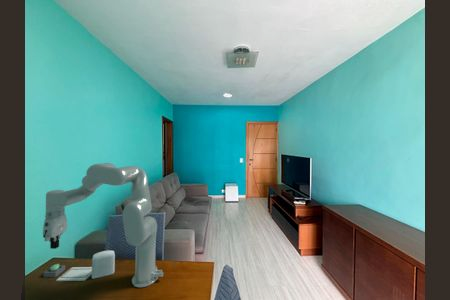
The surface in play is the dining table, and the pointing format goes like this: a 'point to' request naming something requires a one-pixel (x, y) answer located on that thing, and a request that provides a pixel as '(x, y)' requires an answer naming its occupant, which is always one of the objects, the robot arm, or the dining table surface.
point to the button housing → (54, 274)
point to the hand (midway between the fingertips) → (54, 247)
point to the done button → (54, 267)
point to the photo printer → (103, 264)
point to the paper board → (76, 274)
